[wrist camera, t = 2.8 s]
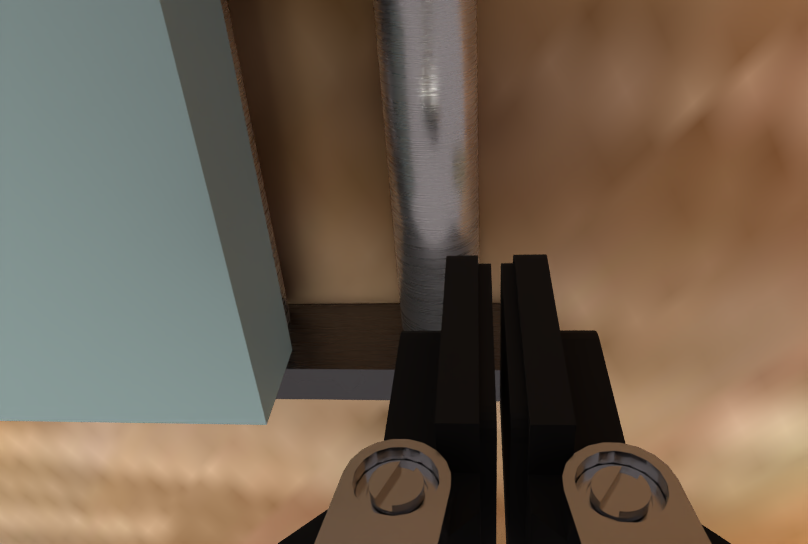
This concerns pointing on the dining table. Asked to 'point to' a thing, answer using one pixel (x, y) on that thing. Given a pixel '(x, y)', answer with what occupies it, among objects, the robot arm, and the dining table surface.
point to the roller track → (399, 201)
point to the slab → (131, 220)
